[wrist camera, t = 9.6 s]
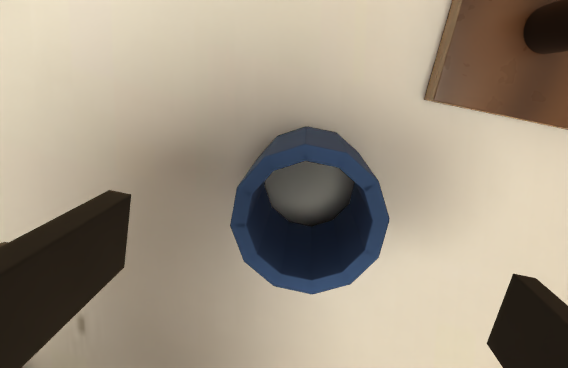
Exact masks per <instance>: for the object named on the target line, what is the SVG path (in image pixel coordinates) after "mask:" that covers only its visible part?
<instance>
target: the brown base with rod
mask: <svg viewBox="0 0 568 368" xmlns="http://www.w3.org/2000/svg"><path fill="white" fill-rule="evenodd" d="M424 99H425V100H428V101H433V102H438V103H442V104H447V105H452V106H457V107H462V108H466V109H471V110H476V111H481V112H486V113H491V114H495V115H500V116H505V117H510V118H515V119H519V120H524V121H529V122H534V123H539V124H543V125H548V126H553V127H558V128H563V129H568V0H453V1H452V4H451V8H450V11H449V15H448V18H447V22H446V25H445V29H444V32H443V36H442V39H441V43H440V46H439V50H438V53H437V57H436V60H435V64H434V67H433V71H432V74H431V78H430V81H429V84H428V88H427V91H426V95H425V98H424Z"/></svg>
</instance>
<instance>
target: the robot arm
mask: <svg viewBox="0 0 568 368" xmlns="http://www.w3.org/2000/svg"><path fill="white" fill-rule="evenodd" d="M130 202H131V194H126V193H121V192H116V191H111V190H109V191H107V192H105V193H103V194H101V195H99V196H97V197H95V198H93V199H91V200H89V201H88V202H86V203H84V204H82V205H80V206H78V207H76V208H74V209H72V210H70V211H68V212H66V213H65V214H63V215H61V216H59V217H57V218H55V219H53V220H51V221H49V222H47V223H45V224H44V225H42V226H40V227H38V228H36V229H34V230H32V231H30V232H28V233H26V234H24V235H22V236H21V237H19V238H17V239H15V240H13V241H11V242H9V243H8V242H3V243H0V368H21V367H22V366H23V365H24V364H25V363H26V362H27V361H29V360H30V359H31V358H32V357H33V356H34V355H35V354H36V353H37V352H38V351H39V350H40V349H41V348H42V347H43V346H44V345H45V344H46V343H47V342H48V341H49V340H50V339H51V338H52V337H53V336H54V335H55V334H56V333H57V332H58V331H59V330H60V329H61V328H62V327H63V326H64V325H65V324H66V323H67V322H69V321H70V320H71V319H72V318H73V317H74V316H75V315H76V314H77V313H78V312H79V311H80V310H81V309H82V308H83V307H84V306H85V305H86V304H87V303H88V302H89V301H90V300H91V299H92V298H93V297H94V296H95V295H96V294H97V293H98V292H99V291H100V290H101V289H102V288H103V287H104V286H105V285H106V284H107V283H108V282H110V281H111V280H112V279H113V278H114V277H115V276H116V275H117V274H118V273H119V272H120V271H121V270H122V269H123V268H124V264H125V254H126V243H127V233H128V223H129V212H130ZM487 344H488V346H489V347H490V349H491V350H492V352H493V353H494V355H495V356H496V358H497V359H498V361H499V362H500V364H501V365H502V367H503V368H568V306H567V305H566V304H565V303H564V302H563V301H562V300H560V299H559V298H558V297H557V296H556V295H555V294H554V293H552V292H551V291H550V290H549V289H548V288H547V287H545V286H544V285H543V284H542V283H541V282H540V281H538V280H537V279H536V278H532V277H527V276H522V275H517V274H513V276H512V278H511V281H510V284H509V286H508V289H507V292H506V294H505V297H504V299H503V302H502V305H501V307H500V310H499V313H498V315H497V318H496V320H495V323H494V326H493V328H492V331H491V334H490V336H489V339H488V342H487Z"/></svg>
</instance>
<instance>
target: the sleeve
mask: <svg viewBox="0 0 568 368" xmlns="http://www.w3.org/2000/svg"><path fill="white" fill-rule="evenodd" d="M303 161H309V162H314V163H319V164H323V165H328V166H333V167H338V168H340V169H341V170H342V171H343V172H344V173H345V174H346V175H347V176H348V177H350V178H351V179H352V180H353V181H354V182H355V183H354V187H353V191H352V195H351V199H350V202H349V204H348V205H347V206H346V207H345V208H344V209H343V210H342V211H341V212H340V213H339V214H338V215H337V216H336V218H335V219H334V220H331V221H328V222H324V223H321V224H318V225H314V226H307V225H302V224H298V223H293V222H289V221H288V220H287V219H285V218H284V217H283V216H282V215H281V214H280V213H278V212H277V211H276V210H275V209H274V208H273V207H272V206H271V203H270V200H269V197H268V195H267V192H266V189H265V186H264V185H265V180H266V179H267V178H268V177H269V176H270V174H271V173H272V172H273V171H275V170H278V169H281V168H284V167H288V166H291V165H294V164H297V163H300V162H303ZM388 223H389V215H388V212H387V209H386V205H385V202H384V198H383V195H382V191H381V188H380V184H379V181H378V180H377V178H376V177H375V175H374V174H373V173H372V171H371V170H370V168H369V167H368V166H367V164H366V163H365V161H364V160H363V159H362V157H361V156H360V154H359V153H358V152H357V151H356V150H355V149H354V148H353V147H352V146H350V145H349V144H348V143H347V142H346V141H345V140H344V139H343V138H342V137H341V136H339V135H338V134H337V133H335V132H331V131H326V130H321V129H316V128H312V127H303V128H300V129H297V130H294V131H291V132H288V133H285V134H282V135H279V136H277V137H276V138H275V139H274V140H273V141H272V143H271V144H270V145H269V146H268V147H267V148H266V149H265V151H264V152H263V153H262V154H261V155H260V156H259V157H258V159H257V160H256V162H255V163H254V164H253V166H252V167H251V169H250V170H249V171H248V173H247V174H246V176H245V177H244V178H243V180H242V181H241V183H240V184H239V185H238V187H237V190H236V196H235V202H234V207H233V213H232V219H231V224H230V226H231V229H232V232H233V234H234V237H235V239H236V242H237V245H238V247H239V250H240V252H241V255H242V258H243V260H244V262H245V263H247V264H248V265H249V266H250V267H251V268H253V269H254V270H255V271H256V272H257V273H259V274H260V275H261V276H262V277H264V278H265V279H266V280H267V281H268V282H270V283H271V284H272V285H273V286H276V287H280V288H285V289H290V290H294V291H299V292H304V293H308V294H316V293H319V292H323V291H327V290H331V289H334V288H338V287H342V286H346V285H349V284H351V283H352V282H353V281H354V280H355V279H356V278H358V277H359V276H360V275H361V274H362V273H363V272H364V271H365V270H366V269H367V268H368V267H369V266H370V265H371V264H372V263H373V262H374V261H376V260H377V259H378V258H379V255H380V251H381V248H382V244H383V241H384V237H385V234H386V230H387V227H388Z"/></svg>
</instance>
